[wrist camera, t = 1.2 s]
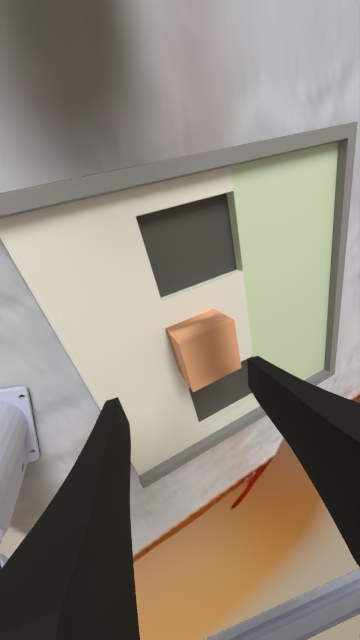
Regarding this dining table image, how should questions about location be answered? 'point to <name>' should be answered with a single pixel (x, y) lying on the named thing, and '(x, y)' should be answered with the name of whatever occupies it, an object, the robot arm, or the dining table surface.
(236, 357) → the block
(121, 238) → the sectioned serving tray
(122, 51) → the dining table surface
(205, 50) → the dining table surface
